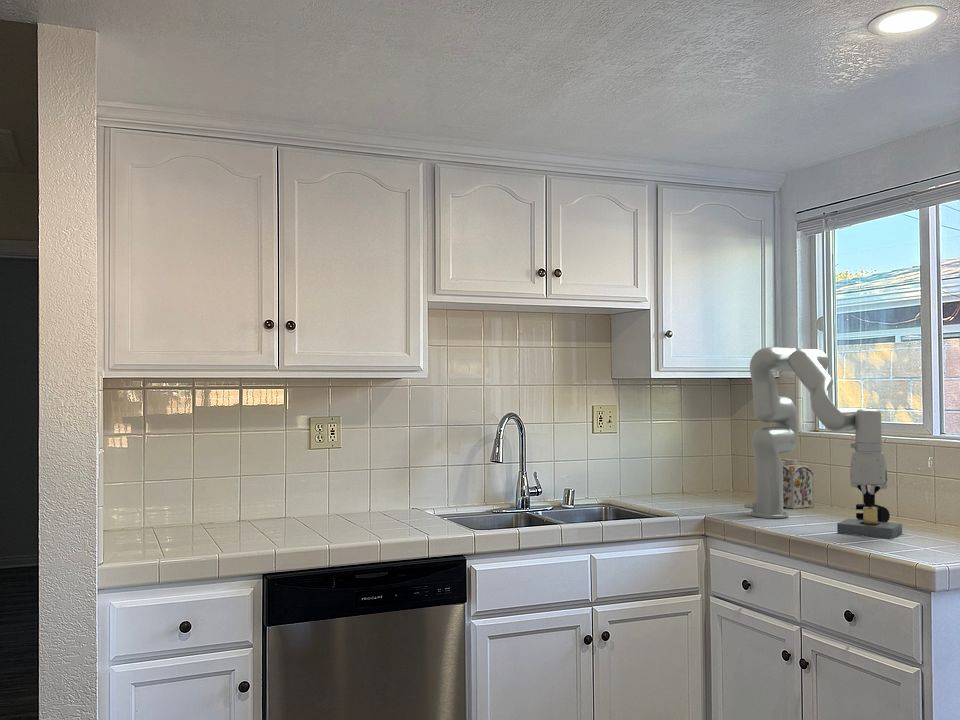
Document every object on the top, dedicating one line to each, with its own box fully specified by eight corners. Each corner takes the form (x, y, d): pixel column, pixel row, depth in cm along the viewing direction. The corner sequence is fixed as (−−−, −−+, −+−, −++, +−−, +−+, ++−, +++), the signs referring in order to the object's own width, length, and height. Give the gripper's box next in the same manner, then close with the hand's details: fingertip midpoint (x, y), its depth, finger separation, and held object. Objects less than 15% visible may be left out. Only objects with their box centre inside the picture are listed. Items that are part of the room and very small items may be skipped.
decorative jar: (769, 505, 324) (768, 458, 325) (790, 503, 330) (790, 457, 330) (793, 509, 314) (792, 461, 314) (815, 507, 319) (814, 460, 319)
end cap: (890, 527, 276) (889, 506, 276) (868, 526, 276) (868, 506, 276) (876, 522, 286) (876, 502, 286) (855, 521, 286) (855, 502, 286)
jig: (837, 532, 264) (837, 523, 264) (848, 527, 273) (848, 518, 273) (892, 538, 254) (892, 528, 254) (902, 533, 263) (902, 523, 263)
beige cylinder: (861, 533, 263) (861, 507, 263) (865, 531, 266) (865, 506, 266) (875, 534, 261) (875, 509, 261) (879, 533, 264) (878, 507, 264)
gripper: (840, 447, 266) (840, 505, 266) (891, 450, 257) (891, 510, 256) (847, 446, 272) (847, 503, 272) (897, 448, 263) (898, 507, 262)
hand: (869, 506), depth 264 cm, fingers closed
